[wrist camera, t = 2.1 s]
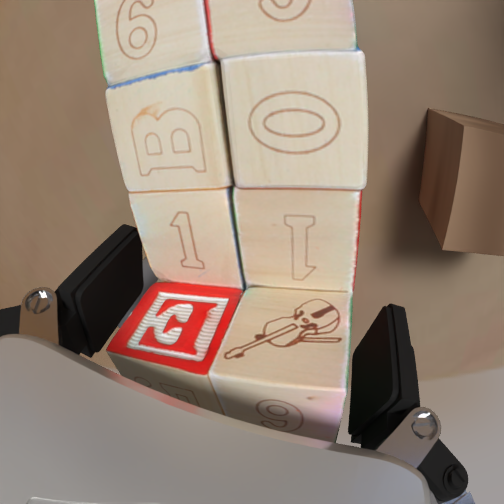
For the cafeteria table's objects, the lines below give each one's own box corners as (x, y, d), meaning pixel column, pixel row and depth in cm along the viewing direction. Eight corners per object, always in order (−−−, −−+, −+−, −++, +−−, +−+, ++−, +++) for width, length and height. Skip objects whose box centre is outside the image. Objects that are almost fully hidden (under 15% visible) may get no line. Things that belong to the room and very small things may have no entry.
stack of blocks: (217, 16, 12) (-2, -20, 2) (344, 6, 11) (349, -154, 1) (256, 334, 24) (202, 484, 14) (339, 342, 22) (315, 505, 12)
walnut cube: (508, 125, 11) (559, 152, 7) (493, 210, 14) (531, 258, 10) (427, 108, 12) (464, 125, 8) (418, 200, 15) (442, 249, 11)
